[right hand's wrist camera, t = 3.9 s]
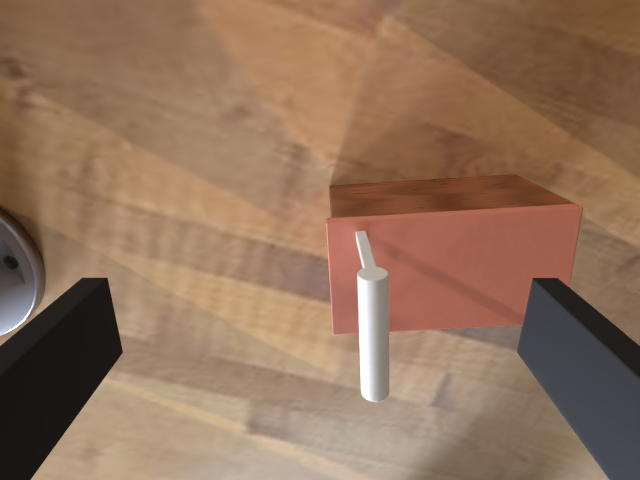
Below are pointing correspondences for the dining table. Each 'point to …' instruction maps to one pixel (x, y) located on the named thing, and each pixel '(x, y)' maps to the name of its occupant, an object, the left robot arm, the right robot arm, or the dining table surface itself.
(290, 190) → the dining table surface
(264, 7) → the dining table surface
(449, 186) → the chest
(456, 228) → the lid
